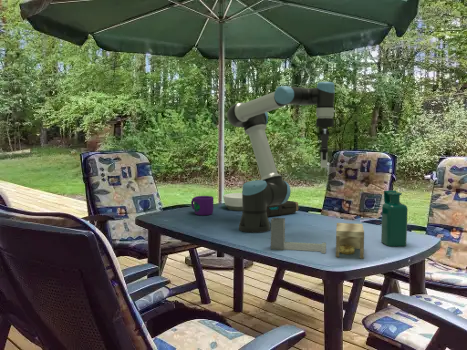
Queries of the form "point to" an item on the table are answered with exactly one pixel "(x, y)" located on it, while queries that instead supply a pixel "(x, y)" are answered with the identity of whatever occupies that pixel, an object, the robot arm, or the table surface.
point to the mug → (203, 205)
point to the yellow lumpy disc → (346, 249)
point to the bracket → (280, 243)
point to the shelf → (350, 236)
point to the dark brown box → (282, 209)
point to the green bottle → (394, 220)
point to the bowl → (233, 201)
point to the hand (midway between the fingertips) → (323, 166)
